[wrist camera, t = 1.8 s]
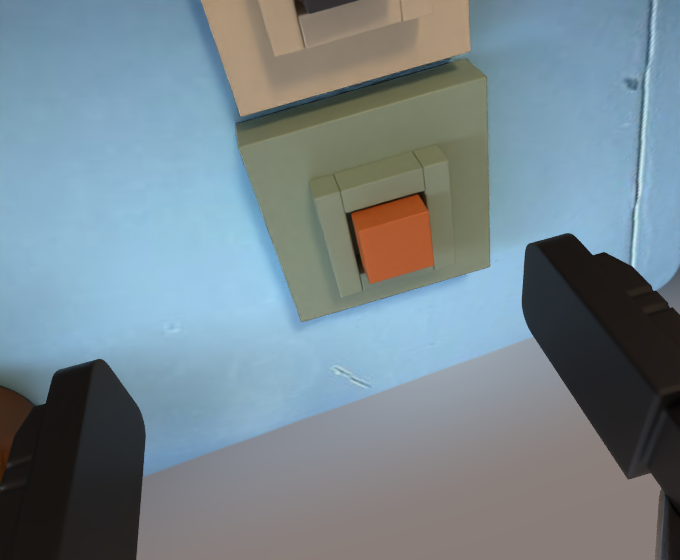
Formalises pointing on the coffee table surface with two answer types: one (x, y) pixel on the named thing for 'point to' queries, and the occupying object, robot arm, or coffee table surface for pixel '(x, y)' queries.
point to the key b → (394, 238)
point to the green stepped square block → (373, 181)
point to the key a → (323, 4)
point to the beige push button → (328, 44)
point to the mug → (10, 422)
